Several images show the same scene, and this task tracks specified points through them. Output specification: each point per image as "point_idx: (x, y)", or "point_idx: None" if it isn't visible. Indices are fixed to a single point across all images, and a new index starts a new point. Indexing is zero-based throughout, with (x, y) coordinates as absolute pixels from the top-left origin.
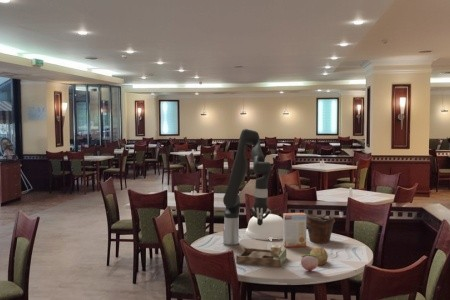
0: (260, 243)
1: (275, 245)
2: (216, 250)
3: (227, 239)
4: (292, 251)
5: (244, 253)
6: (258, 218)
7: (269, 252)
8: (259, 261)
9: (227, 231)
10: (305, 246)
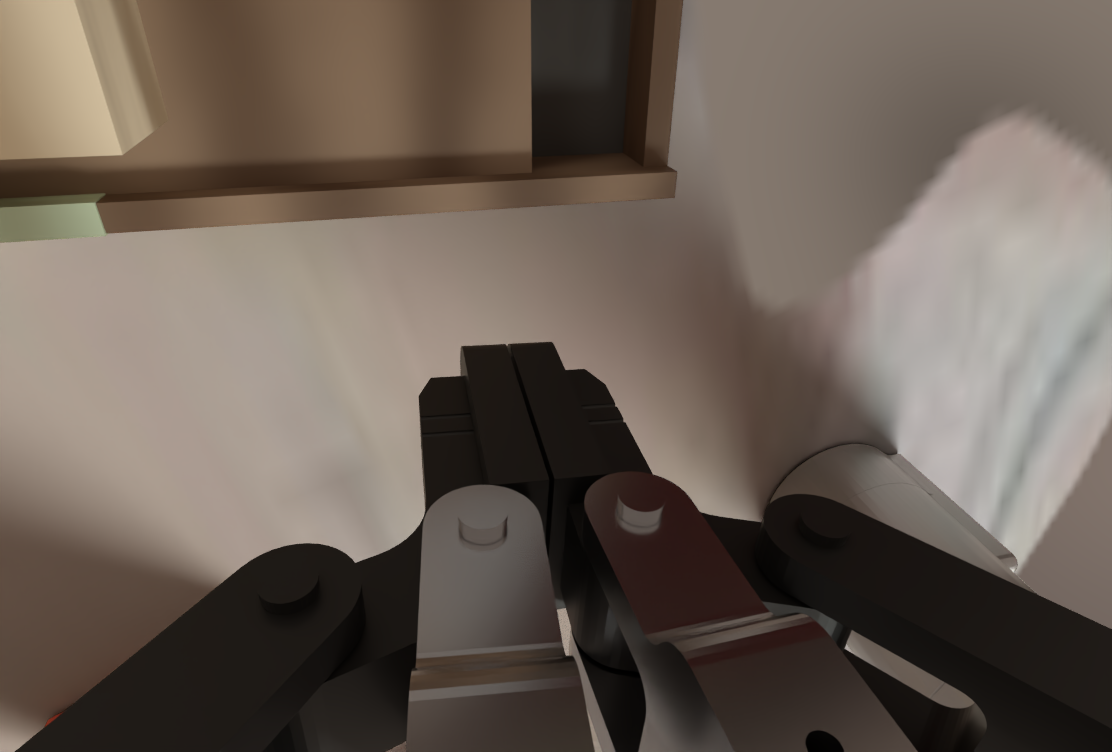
0: None
1: (30, 129)
2: (971, 212)
3: (898, 476)
4: (99, 521)
5: (640, 66)
6: (620, 494)
7: (247, 159)
8: None
9: (965, 539)
10: (55, 715)
